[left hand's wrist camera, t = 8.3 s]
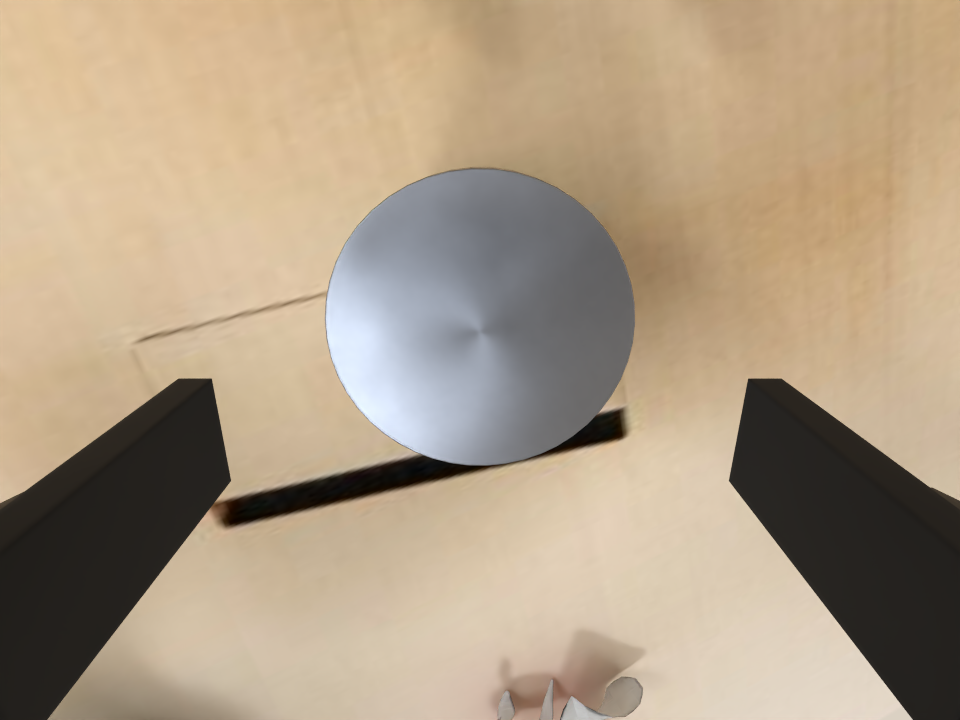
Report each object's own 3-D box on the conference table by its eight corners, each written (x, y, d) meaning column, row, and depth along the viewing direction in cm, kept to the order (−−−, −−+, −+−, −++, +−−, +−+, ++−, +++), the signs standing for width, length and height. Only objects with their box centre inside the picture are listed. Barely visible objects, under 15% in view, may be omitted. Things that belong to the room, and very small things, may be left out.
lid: (284, 249, 21) (263, 258, 19) (555, 110, 19) (564, 104, 17) (421, 477, 25) (415, 505, 23) (659, 377, 23) (676, 398, 21)
